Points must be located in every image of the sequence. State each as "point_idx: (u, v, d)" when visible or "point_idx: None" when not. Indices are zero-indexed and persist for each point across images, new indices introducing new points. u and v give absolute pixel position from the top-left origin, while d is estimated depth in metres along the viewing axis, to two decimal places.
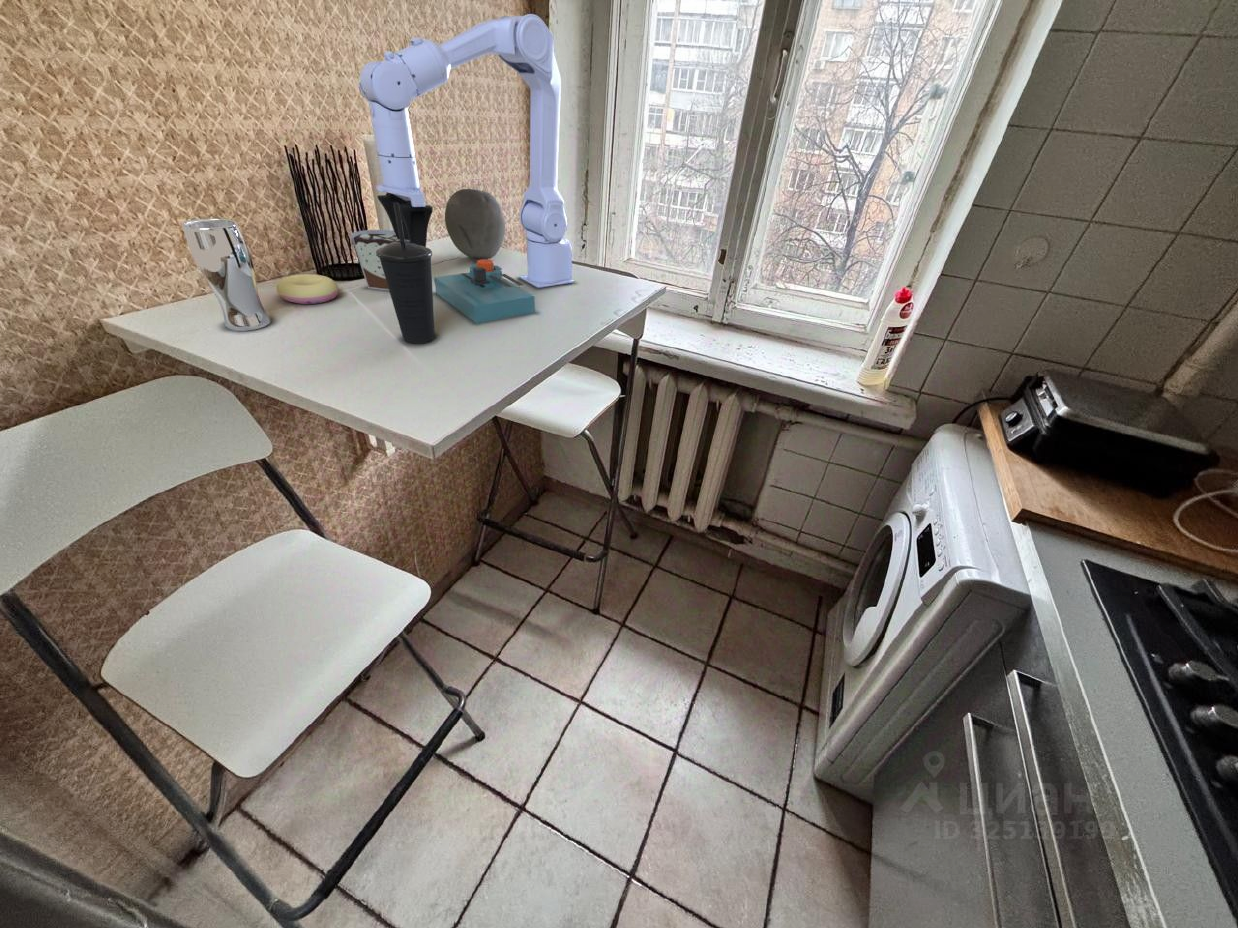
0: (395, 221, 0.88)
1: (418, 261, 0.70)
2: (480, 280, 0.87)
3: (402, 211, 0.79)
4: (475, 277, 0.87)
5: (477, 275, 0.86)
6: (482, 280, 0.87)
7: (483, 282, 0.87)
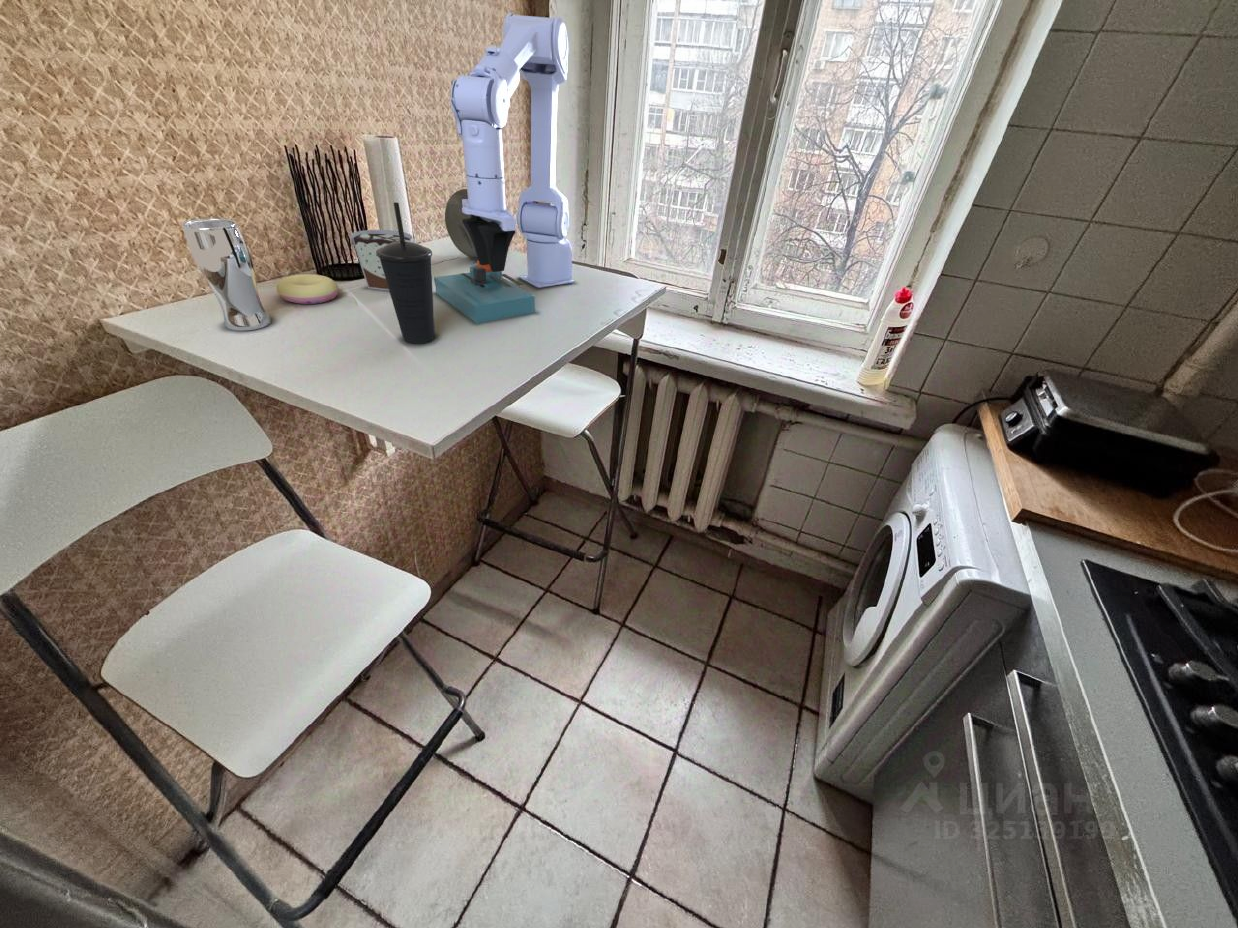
0: (479, 246, 0.82)
1: (418, 261, 0.70)
2: (480, 280, 0.87)
3: (486, 233, 0.75)
4: (475, 277, 0.87)
5: (477, 275, 0.86)
6: (482, 280, 0.87)
7: (483, 282, 0.87)
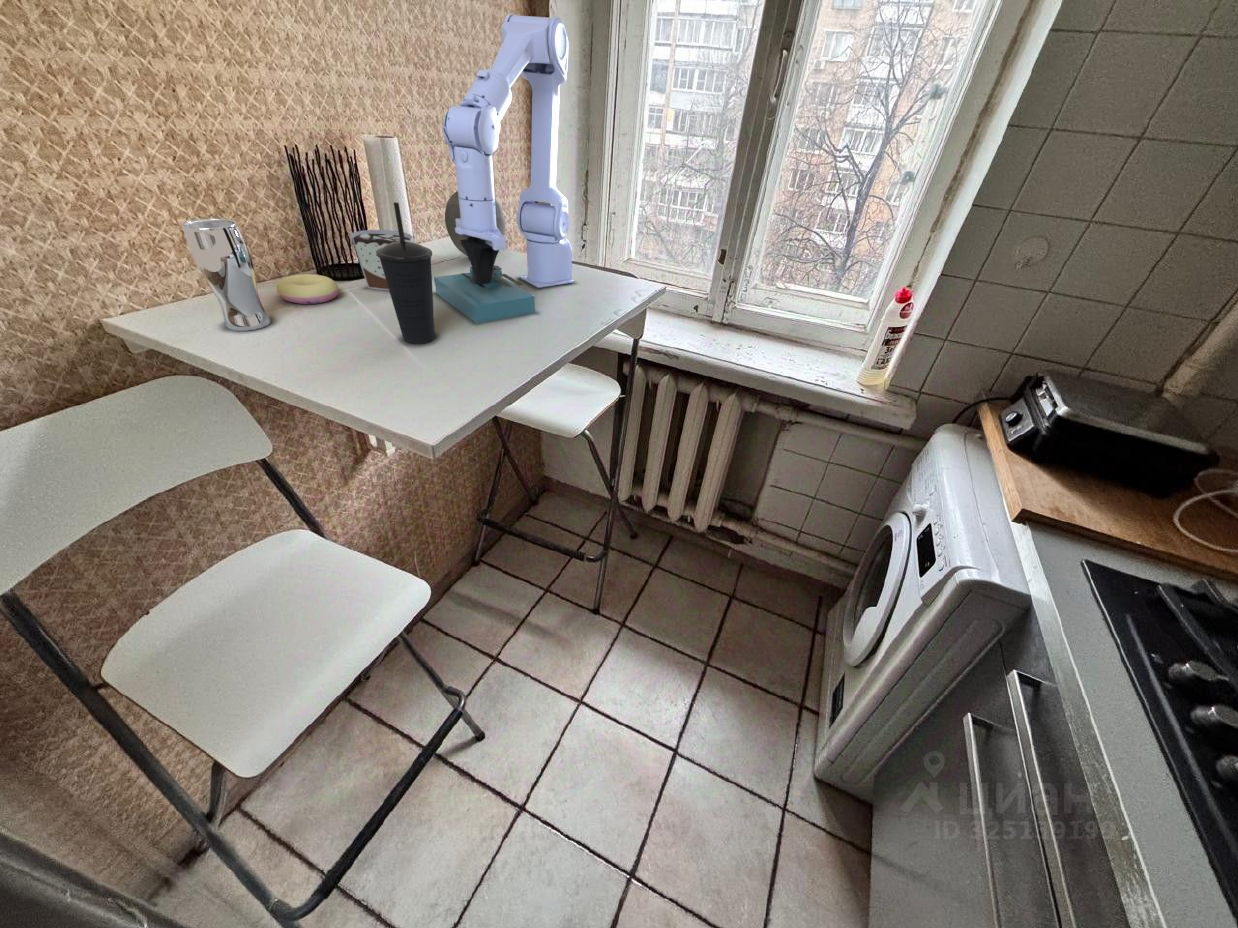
0: None
1: (418, 261, 0.70)
2: None
3: (473, 249, 0.80)
4: (473, 276, 0.87)
5: None
6: None
7: None
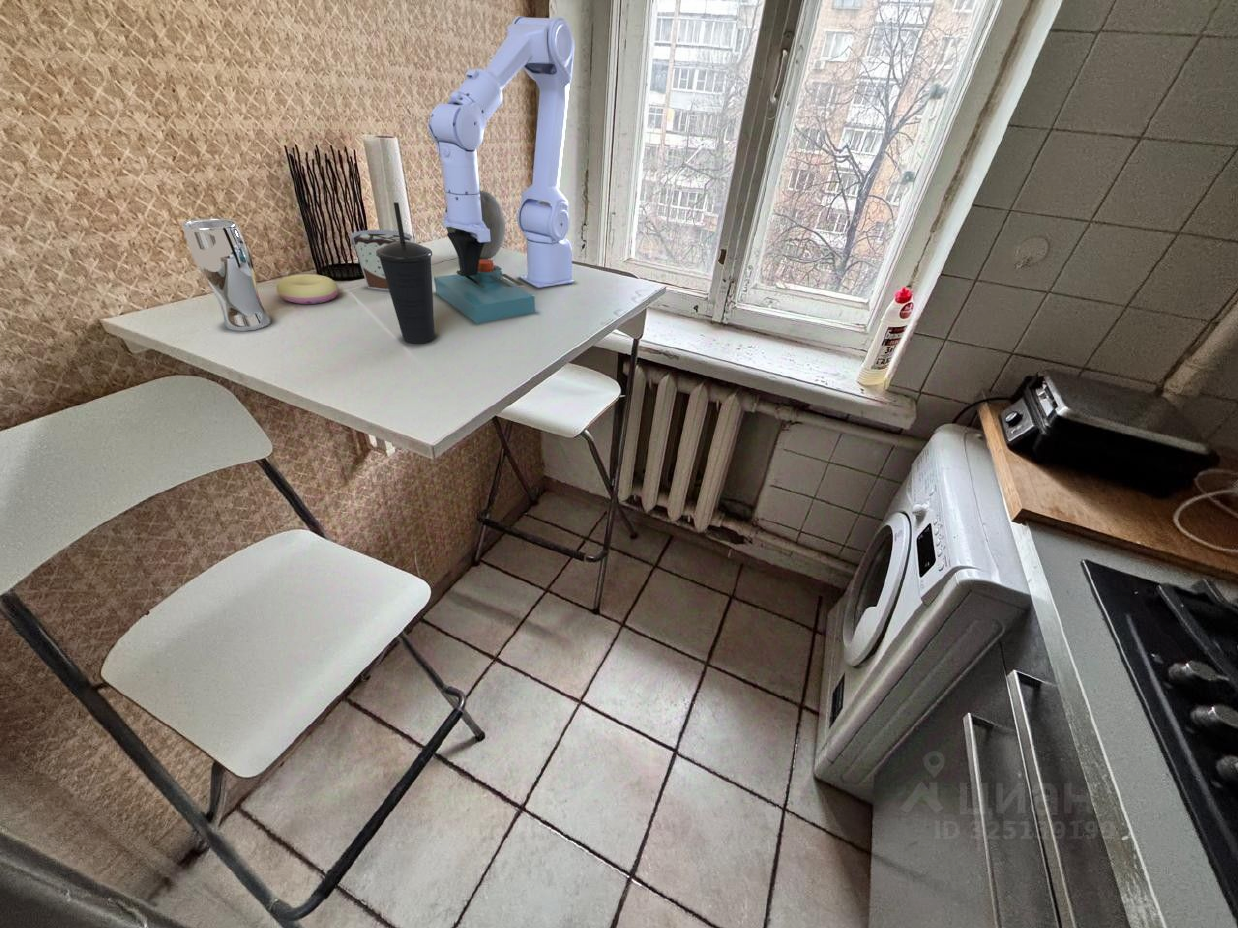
0: None
1: (418, 261, 0.70)
2: None
3: (459, 241, 0.84)
4: (461, 268, 0.90)
5: None
6: None
7: None
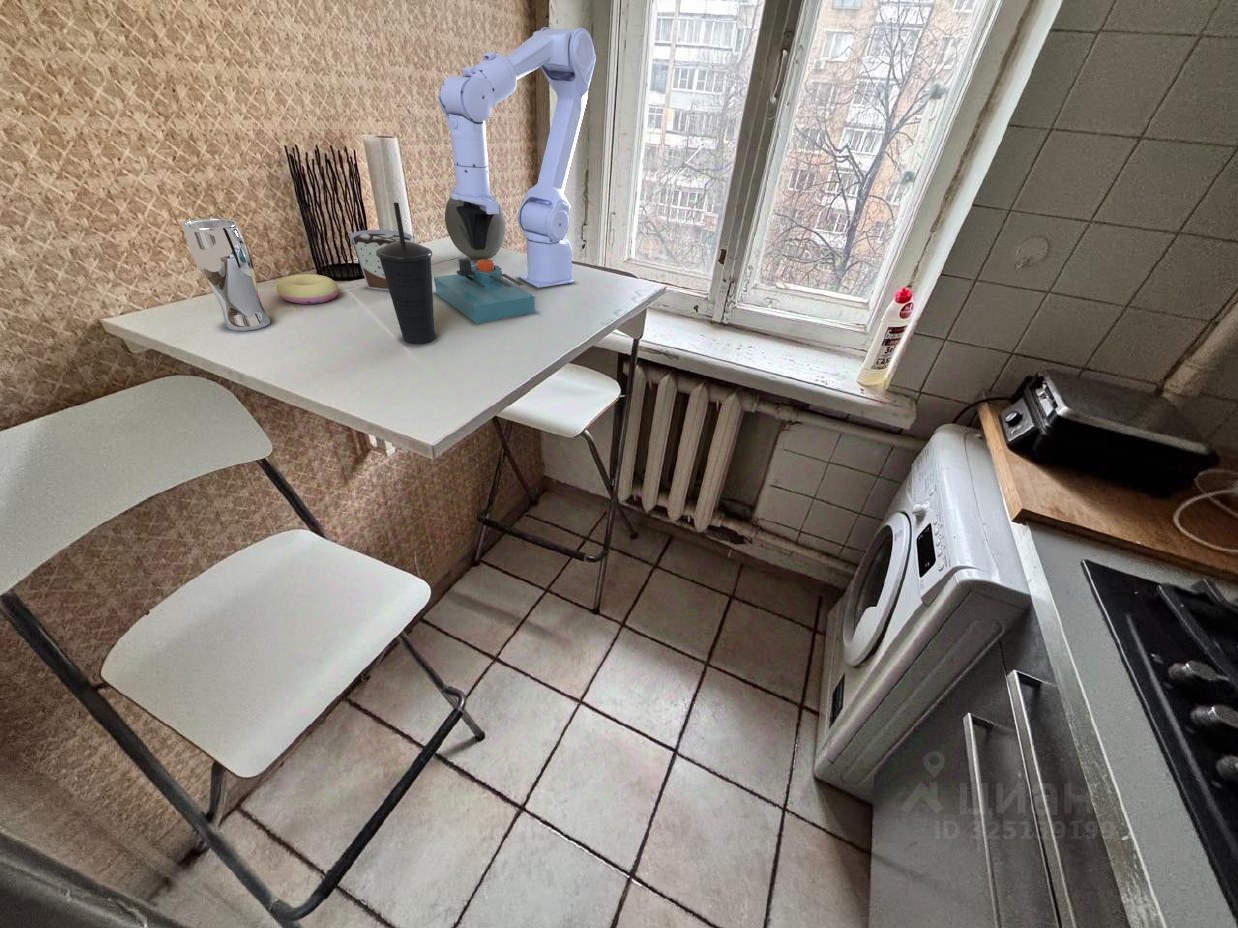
0: None
1: (418, 261, 0.70)
2: (465, 271, 0.91)
3: (468, 214, 0.85)
4: (461, 268, 0.90)
5: (462, 266, 0.90)
6: (468, 271, 0.91)
7: (468, 273, 0.91)
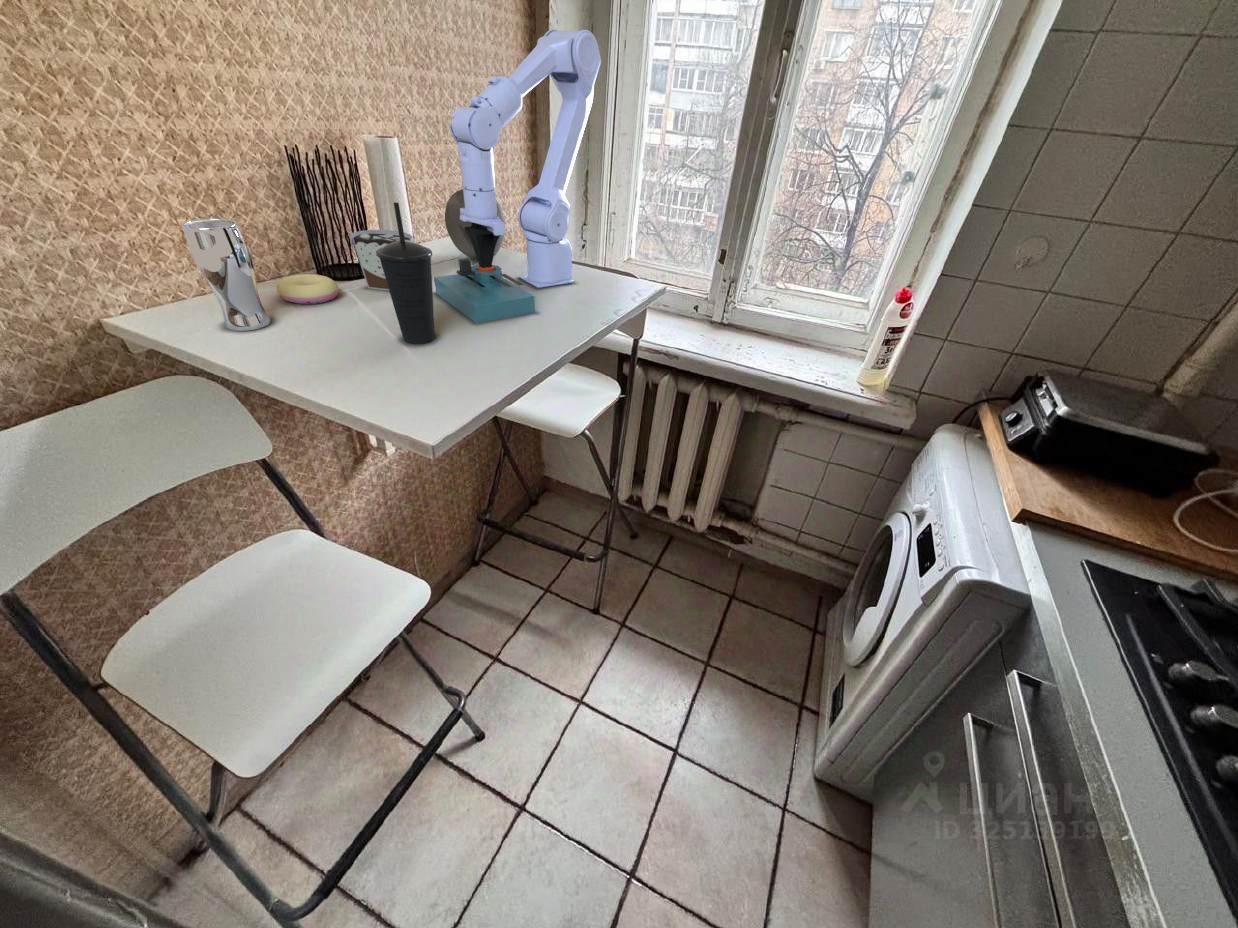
0: None
1: (418, 261, 0.70)
2: (465, 271, 0.91)
3: (476, 235, 0.90)
4: (461, 268, 0.90)
5: (462, 266, 0.90)
6: (468, 271, 0.91)
7: (468, 273, 0.91)
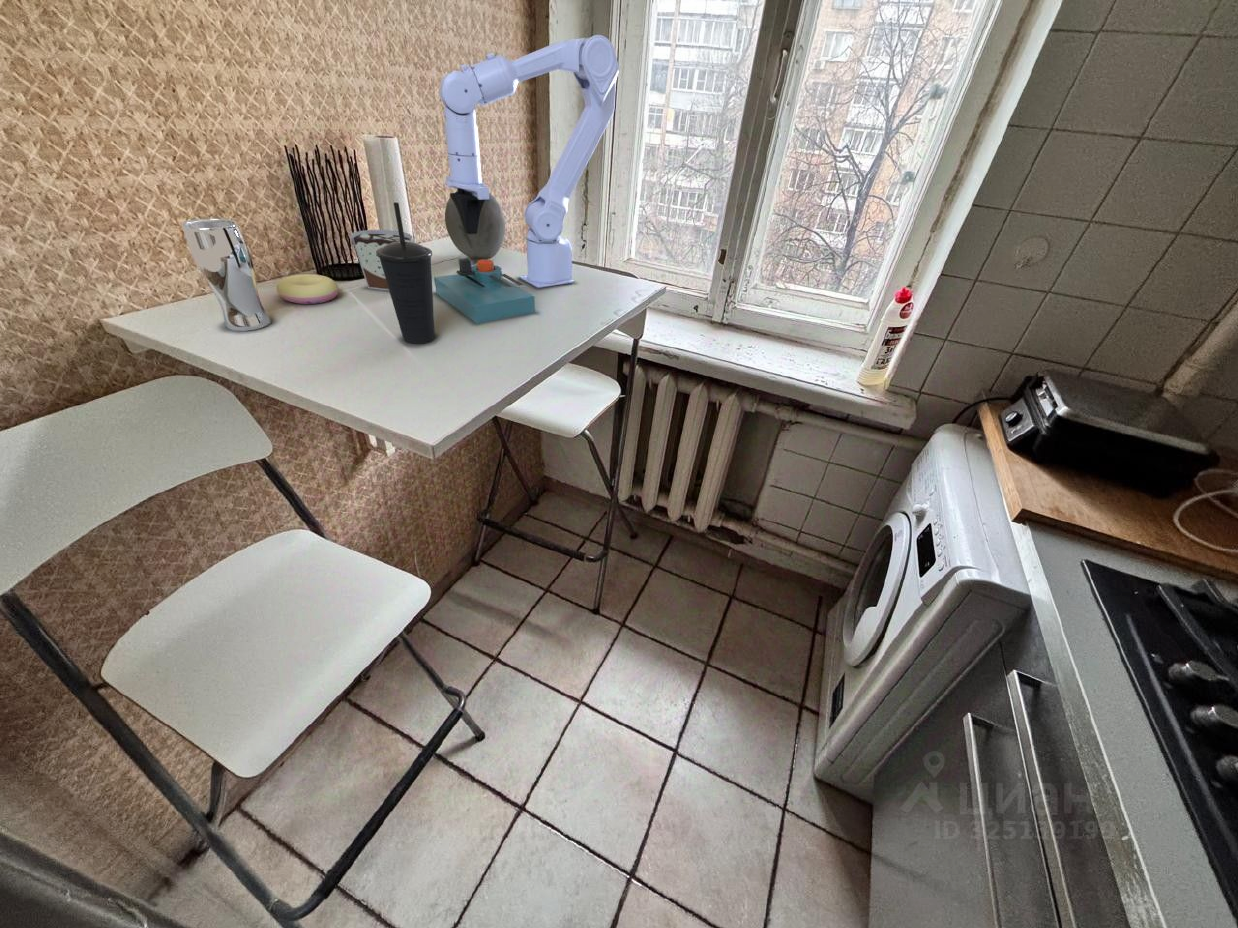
0: None
1: (418, 261, 0.70)
2: (465, 271, 0.91)
3: (461, 200, 0.92)
4: (461, 268, 0.90)
5: (462, 266, 0.90)
6: (468, 271, 0.91)
7: (468, 273, 0.91)
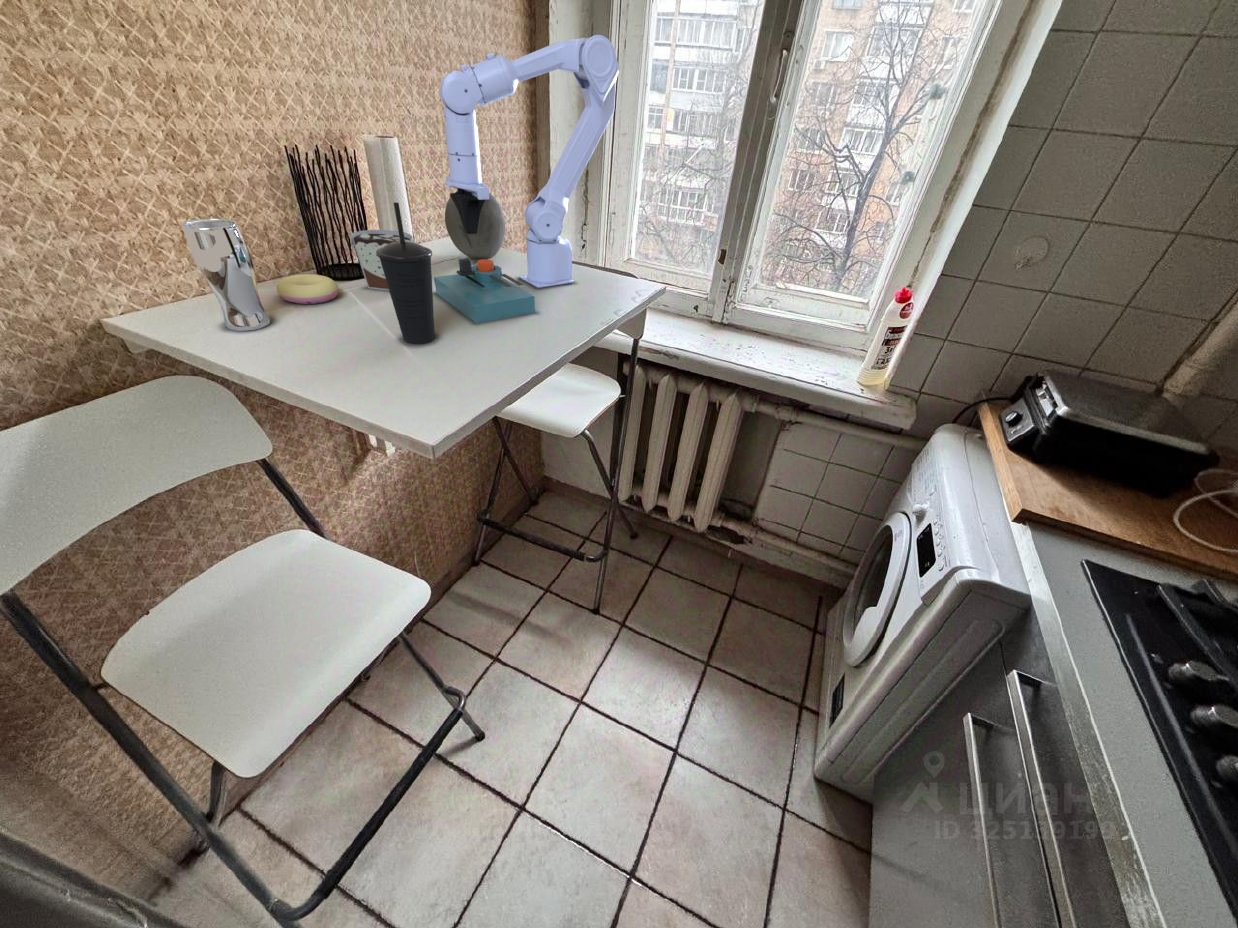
0: None
1: (418, 261, 0.70)
2: (465, 271, 0.91)
3: (461, 200, 0.92)
4: (461, 268, 0.90)
5: (462, 266, 0.90)
6: (468, 271, 0.91)
7: (468, 273, 0.91)
